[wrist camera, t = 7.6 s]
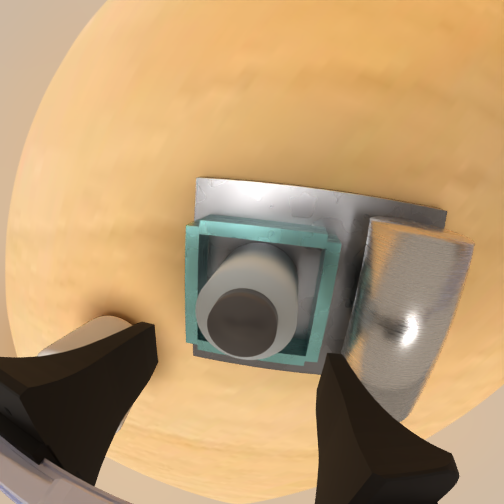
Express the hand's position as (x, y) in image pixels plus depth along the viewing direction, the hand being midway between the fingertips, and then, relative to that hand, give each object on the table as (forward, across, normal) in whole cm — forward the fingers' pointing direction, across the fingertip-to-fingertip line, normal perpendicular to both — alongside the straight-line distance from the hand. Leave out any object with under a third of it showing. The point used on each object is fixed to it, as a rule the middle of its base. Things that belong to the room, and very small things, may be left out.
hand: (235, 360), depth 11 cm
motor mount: (+9, -3, 0) cm, 10 cm away
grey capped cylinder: (+8, 0, 0) cm, 8 cm away
